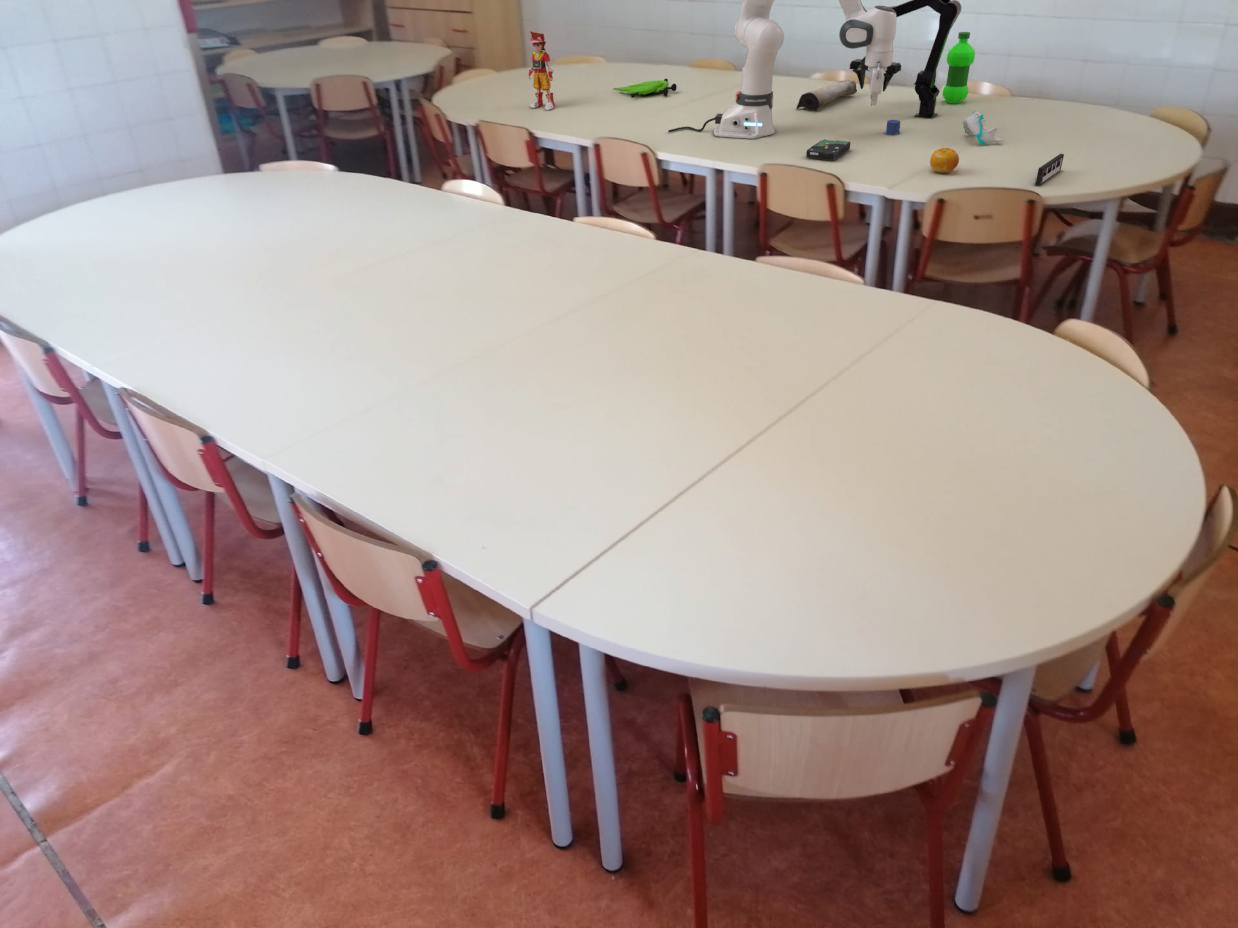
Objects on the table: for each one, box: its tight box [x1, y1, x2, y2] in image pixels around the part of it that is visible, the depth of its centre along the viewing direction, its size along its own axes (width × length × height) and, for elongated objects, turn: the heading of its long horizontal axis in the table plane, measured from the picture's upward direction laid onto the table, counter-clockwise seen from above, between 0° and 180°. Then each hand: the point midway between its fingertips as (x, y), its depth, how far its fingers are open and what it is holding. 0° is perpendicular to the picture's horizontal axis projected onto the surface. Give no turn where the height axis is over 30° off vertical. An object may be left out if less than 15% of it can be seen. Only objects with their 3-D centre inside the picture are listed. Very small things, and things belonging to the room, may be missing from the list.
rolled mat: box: [796, 79, 858, 112], centre depth 363 cm, size 30×9×10 cm
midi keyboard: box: [1035, 153, 1065, 186], centre depth 273 cm, size 18×1×5 cm, turn 138°
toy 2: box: [612, 78, 677, 99], centre depth 396 cm, size 28×5×30 cm
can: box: [885, 119, 902, 136], centre depth 323 cm, size 5×5×4 cm
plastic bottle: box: [942, 31, 976, 104], centre depth 348 cm, size 10×10×25 cm
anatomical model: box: [962, 110, 1003, 146], centre depth 309 cm, size 15×10×10 cm
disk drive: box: [805, 138, 851, 161], centre depth 306 cm, size 10×3×15 cm
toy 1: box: [527, 31, 556, 111], centre depth 374 cm, size 12×9×30 cm
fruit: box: [929, 147, 960, 174], centre depth 283 cm, size 8×8×8 cm
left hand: (873, 102), depth 312 cm, fingers open, 8 cm apart
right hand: (872, 90), depth 345 cm, fingers open, 9 cm apart
